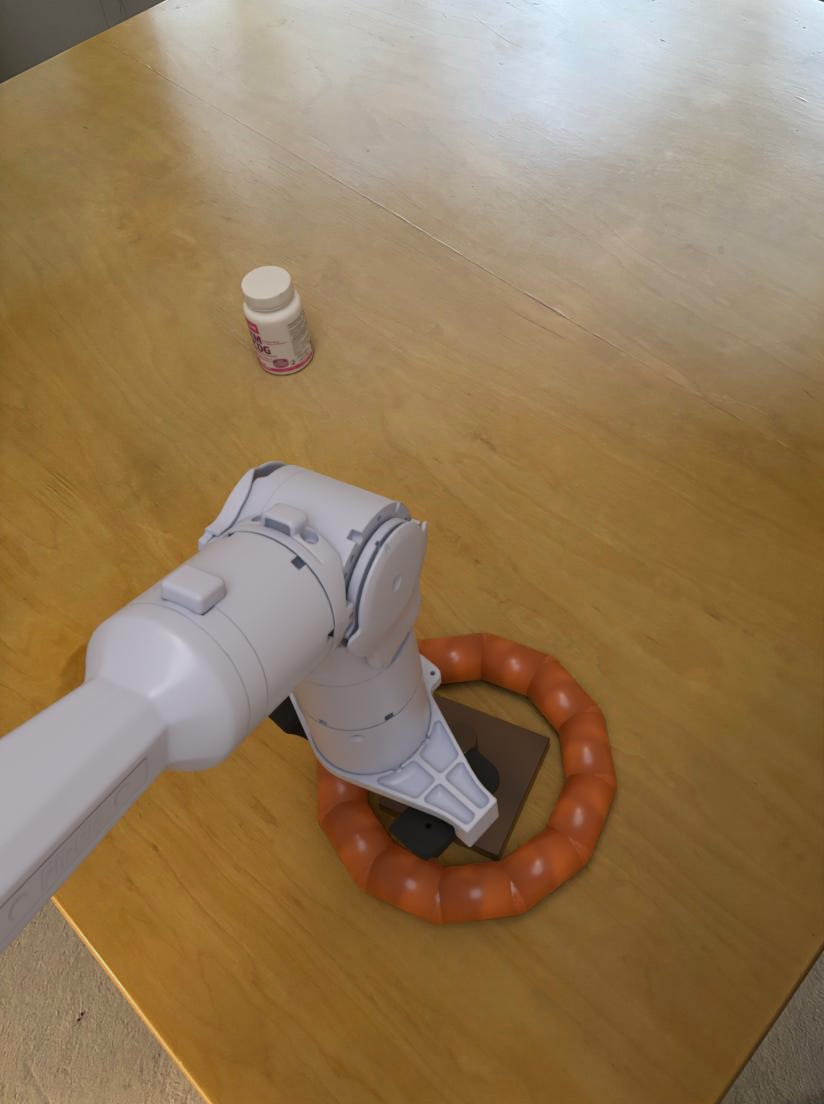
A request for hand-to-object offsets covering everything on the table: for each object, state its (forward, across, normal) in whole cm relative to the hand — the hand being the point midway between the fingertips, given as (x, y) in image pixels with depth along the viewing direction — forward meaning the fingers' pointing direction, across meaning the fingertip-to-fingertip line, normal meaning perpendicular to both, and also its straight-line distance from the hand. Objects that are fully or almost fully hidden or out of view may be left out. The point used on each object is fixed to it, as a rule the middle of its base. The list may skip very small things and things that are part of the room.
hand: (393, 794), depth 58 cm
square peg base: (+8, 0, -5) cm, 10 cm away
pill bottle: (+8, +38, -23) cm, 45 cm away
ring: (+6, 0, -5) cm, 8 cm away
